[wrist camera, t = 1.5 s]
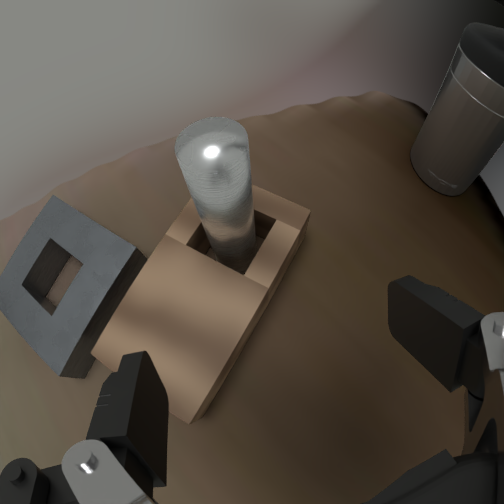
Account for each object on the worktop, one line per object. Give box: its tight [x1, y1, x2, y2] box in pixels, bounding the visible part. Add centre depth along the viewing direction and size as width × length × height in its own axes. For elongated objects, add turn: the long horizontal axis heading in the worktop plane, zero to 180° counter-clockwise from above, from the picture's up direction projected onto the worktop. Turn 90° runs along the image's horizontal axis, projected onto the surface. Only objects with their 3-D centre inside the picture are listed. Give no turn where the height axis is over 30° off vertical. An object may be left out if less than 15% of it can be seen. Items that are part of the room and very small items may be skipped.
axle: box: [175, 117, 257, 274], centre depth 23 cm, size 4×4×16 cm
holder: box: [0, 195, 147, 379], centre depth 28 cm, size 14×14×4 cm
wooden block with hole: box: [91, 185, 311, 424], centre depth 27 cm, size 20×10×5 cm, turn 151°
